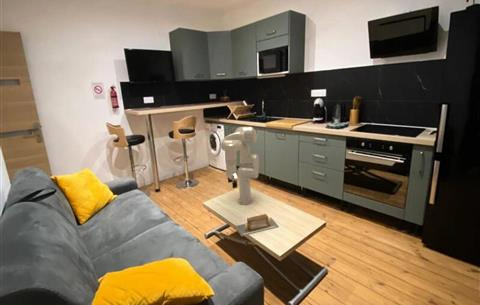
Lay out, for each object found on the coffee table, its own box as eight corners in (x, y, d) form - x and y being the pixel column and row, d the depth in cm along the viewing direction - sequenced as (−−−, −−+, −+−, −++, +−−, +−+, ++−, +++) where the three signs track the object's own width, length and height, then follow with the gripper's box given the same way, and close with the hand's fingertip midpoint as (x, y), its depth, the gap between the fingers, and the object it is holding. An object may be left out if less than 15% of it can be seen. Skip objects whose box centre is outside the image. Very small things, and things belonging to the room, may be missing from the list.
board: (235, 227, 169) (234, 219, 168) (271, 219, 178) (271, 211, 176) (241, 238, 157) (241, 229, 156) (279, 228, 166) (279, 220, 164)
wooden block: (247, 228, 166) (247, 218, 164) (265, 223, 170) (265, 213, 168) (249, 231, 162) (249, 221, 160) (268, 226, 166) (268, 216, 164)
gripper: (222, 158, 165) (223, 181, 170) (229, 166, 149) (231, 191, 154) (232, 156, 167) (233, 179, 172) (241, 164, 151) (242, 188, 156)
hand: (232, 184), depth 163 cm, fingers open, 9 cm apart
